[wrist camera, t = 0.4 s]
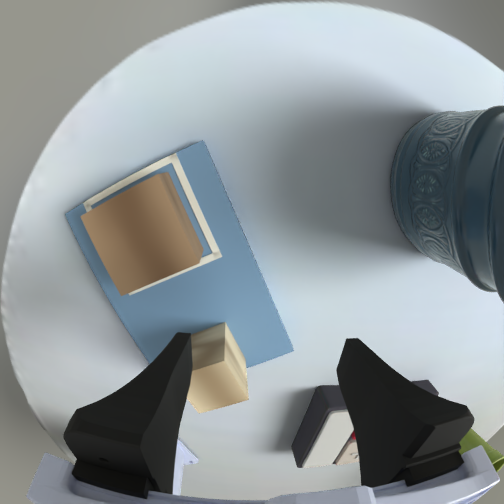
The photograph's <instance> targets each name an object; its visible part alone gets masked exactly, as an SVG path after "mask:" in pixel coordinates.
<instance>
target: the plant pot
mask: <svg viewBox="0 0 504 504" xmlns="http://www.w3.org/2000/svg"><path fill="white" fill-rule="evenodd" d="M459 443H460V445H461V449H460V450H459V453H460V455H462V454H463V453H465V452H467V451H469V450H471V449H473V448H476V447H478V446H480V445H482V446H483V448H484V450H485V452H486V454H487V455H488V457H489V459H490V461H491V463H492V465H493V467H494V469H495V470H496V472H498V471H499V470H500V469H501V467H502V466H503V465H504V456H503V455H501V453H499V452H498V451H497V450H494V449H493V448H492V447H491V446H490V445H489V444H488V443H487V442H485V441H484V440H483V439H482V438H481V437H480V436H479V435H478V434H477V433H476V432H475V431H473V430H472V429H471V428H470V430H469V431H468V432H467V434H466V435H465V436H464V437H463V438H462V440H461V441H460V442H459Z"/></svg>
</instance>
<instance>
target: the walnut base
mask: <svg viewBox="0 0 504 504" xmlns="http://www.w3.org/2000/svg"><path fill="white" fill-rule="evenodd" d="M80 217H81V219H82V221H83V223H84V225H85V228H86V230H87V232H88V234H89V236H90V238H91V240H92V242H93V244H94V246H95V248H96V250H97V252H98V254H99V256H100V258H101V260H102V262H103V264H104V266H105V268H106V270H107V271H108V273H109V275H110V277H111V279H112V281H113V282H114V284H115V286H116V288H117V290H118V291H119V293H120V295H121V296H123V295H126V294H128V293H130V292H133V291H135V290H137V289H140V288H142V287H144V286H147V285H149V284H152V283H154V282H156V281H159V280H161V279H163V278H166V277H168V276H170V275H173V274H175V273H178V272H180V271H182V270H185V269H187V268H190V267H192V266H194V265H197V264H199V263H200V260H201V257H202V253H203V250H204V249H203V247H202V245H201V243H200V240H199V238H198V236H197V234H196V232H195V230H194V228H193V225H192V223H191V221H190V219H189V217H188V215H187V212H186V210H185V208H184V206H183V204H182V201H181V199H180V197H179V195H178V192H177V190H176V188H175V186H174V184H173V181H172V179H171V177H170V174H169V172H166V173H160V174H157V175H155V176H153V177H151V178H149V179H147V180H145V181H143V182H141V183H139V184H137V185H135V186H133V187H131V188H130V189H128V190H126V191H124V192H122V193H120V194H118V195H117V196H115V197H113V198H111V199H109V200H108V201H106V202H104V203H102V204H101V205H99V206H97V207H95V208H94V209H92V210H90V211H89V212H87V213H85V214H84V215H82V216H80Z"/></svg>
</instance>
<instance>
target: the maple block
mask: <svg viewBox="0 0 504 504" xmlns="http://www.w3.org/2000/svg"><path fill="white" fill-rule="evenodd" d="M191 343H192V362H193V368H192V375H191V383H190V387H189V391H188V395H187V399H188V400H189V402H190V403H191V404H192V405H193V407H194V408H195V409H196V410H197V412H198V413H203V412H207V411H211V410H214V409H218V408H222V407H225V406H229V405H232V404H236V403H239V402H242V401H246V400H249V398H248V385H247V372H246V359H245V357H244V355H243V353H242V352H241V350H240V348H239V346H238V344H237V343H236V341H235V339H234V337H233V335H232V333H231V331H230V330H229V328H228V326H227V324H226V322H224V323H222V324H219V325H216V326H214V327H211V328H208V329H205V330H203V331H200V332H197V333H194V334H191Z"/></svg>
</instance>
